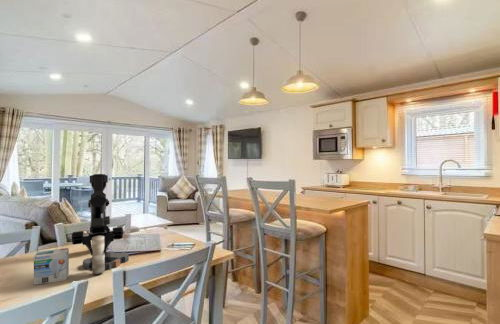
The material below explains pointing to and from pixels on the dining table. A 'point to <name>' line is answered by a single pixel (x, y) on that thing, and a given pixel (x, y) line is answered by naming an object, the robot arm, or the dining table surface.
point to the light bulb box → (51, 266)
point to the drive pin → (98, 254)
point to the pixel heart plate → (109, 260)
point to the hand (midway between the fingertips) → (98, 253)
